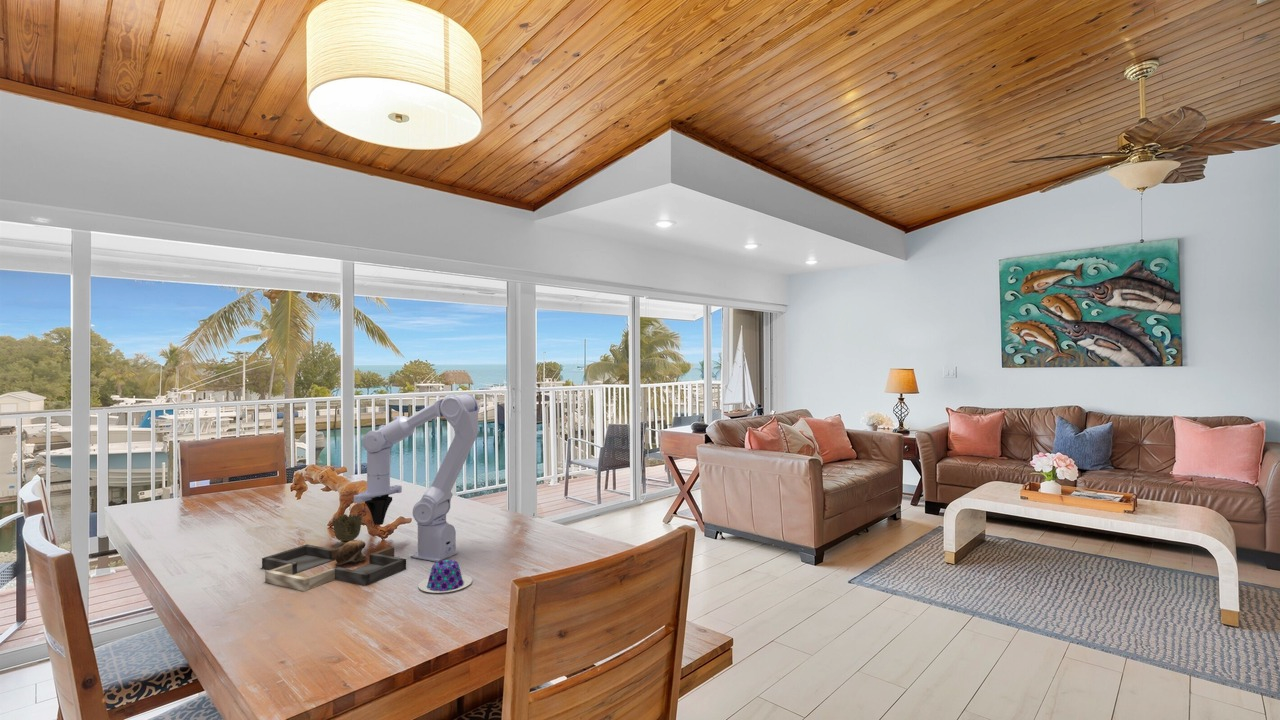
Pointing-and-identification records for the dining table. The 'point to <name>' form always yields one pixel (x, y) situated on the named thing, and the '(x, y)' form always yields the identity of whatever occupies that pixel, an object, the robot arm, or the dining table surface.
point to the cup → (347, 527)
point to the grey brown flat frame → (313, 556)
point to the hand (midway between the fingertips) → (378, 524)
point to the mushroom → (350, 552)
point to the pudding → (445, 578)
